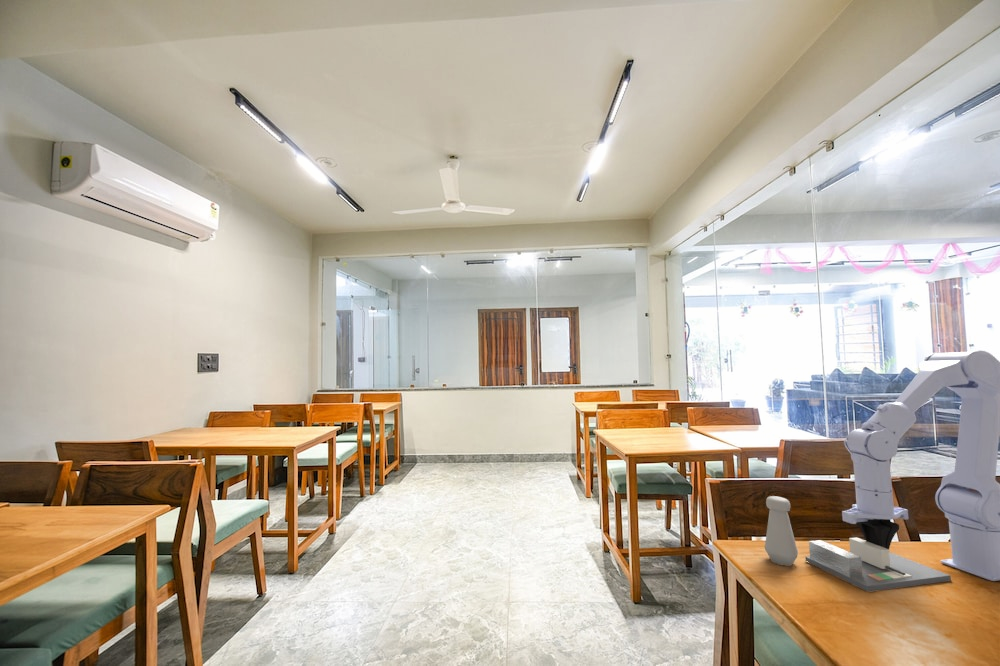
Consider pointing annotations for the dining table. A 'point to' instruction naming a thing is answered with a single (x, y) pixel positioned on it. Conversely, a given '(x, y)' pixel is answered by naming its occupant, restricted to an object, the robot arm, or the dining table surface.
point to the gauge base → (890, 574)
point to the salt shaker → (780, 532)
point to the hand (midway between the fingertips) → (878, 556)
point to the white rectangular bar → (871, 553)
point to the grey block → (836, 558)
